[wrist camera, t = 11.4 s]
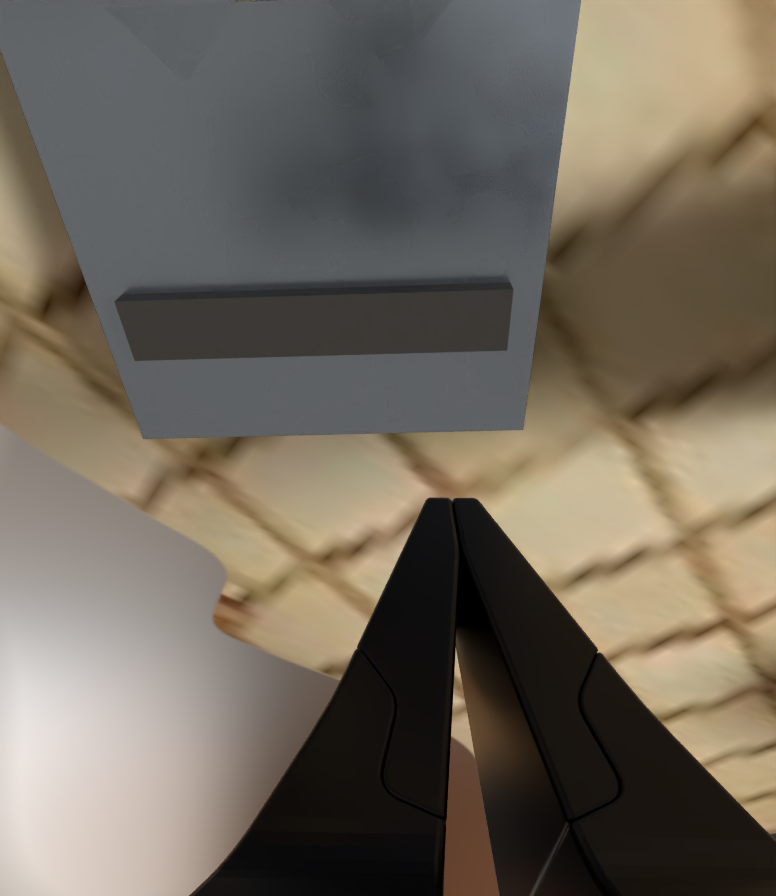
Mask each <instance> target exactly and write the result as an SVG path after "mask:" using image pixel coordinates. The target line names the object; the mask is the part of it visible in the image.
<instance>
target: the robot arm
mask: <svg viewBox="0 0 776 896" xmlns="http://www.w3.org/2000/svg"><path fill="white" fill-rule="evenodd" d="M455 648H456V651H457V656H458V662H459V668H460V673H461V679H462V685H463V690H464V696H465V702H466V707H467V713H468V719H469V724H470V730H471V736H472V742H473V747H474V753H475V759H476V764H477V770H478V776H479V781H480V787H481V793H482V798H483V804H484V810H485V815H486V821H487V827H488V832H489V838H490V844H491V849H492V855H493V861H494V866H495V872H496V878H497V884H498V889H499V895H500V896H776V840H775V839H774V838H773V837H772V836H771V835H770V834H769V833H768V832H767V831H766V830H765V829H764V828H763V827H762V826H761V825H760V824H759V823H758V822H757V821H756V820H755V819H754V818H753V817H752V816H751V815H750V814H749V813H748V812H747V811H746V810H745V809H744V808H743V807H742V806H741V805H740V804H739V803H738V802H737V801H736V800H735V799H734V798H733V797H732V795H731V794H730V793H729V792H728V791H727V790H726V789H725V788H724V787H723V786H722V785H721V784H720V783H719V782H718V781H717V780H716V779H715V778H714V777H713V776H712V775H711V774H710V773H709V772H708V771H707V770H706V769H705V768H704V767H703V766H702V765H701V764H700V763H699V762H698V761H697V760H696V759H695V757H694V756H693V755H692V754H691V753H690V752H689V751H688V750H687V749H686V748H685V747H684V746H683V745H682V744H681V743H680V742H679V741H678V740H677V739H676V738H675V737H674V736H673V735H672V734H671V733H670V732H669V730H668V729H667V728H666V727H665V726H664V725H663V724H662V723H661V722H660V721H659V720H658V719H657V718H656V716H655V715H654V714H653V713H652V712H651V711H650V710H649V709H648V708H647V707H646V706H645V705H644V704H643V702H642V701H641V700H640V699H639V698H638V696H637V695H636V694H635V693H634V692H633V691H632V689H631V688H630V687H629V686H628V685H627V684H626V682H625V681H624V680H623V679H622V678H621V676H620V675H619V674H618V673H617V672H616V670H615V669H614V668H613V667H612V665H611V664H610V663H609V662H608V660H607V659H606V658H605V657H604V655H603V654H602V653H597V652H598V649H597V647H596V646H595V644H594V643H593V642H592V641H591V640H590V638H589V637H588V636H587V635H586V633H585V632H584V631H583V630H582V628H581V627H580V626H579V625H578V623H577V622H576V621H575V620H574V618H573V617H572V616H571V615H570V613H569V612H568V611H567V610H566V608H565V607H564V606H563V605H562V603H561V602H560V601H559V600H558V599H557V597H556V596H555V595H554V594H553V592H552V591H551V590H550V589H549V587H548V586H547V585H546V584H545V582H544V581H543V580H542V579H541V577H540V576H539V575H538V574H537V572H536V571H535V570H534V569H533V567H532V566H531V565H530V564H529V563H528V561H527V560H526V559H525V558H524V556H523V555H522V554H521V553H520V551H519V550H518V549H517V548H516V546H515V545H514V544H513V543H512V541H511V540H510V539H509V538H508V536H507V535H506V534H505V533H504V531H503V530H502V529H501V528H500V526H499V525H498V524H497V523H496V522H495V520H494V519H493V518H492V517H491V515H490V514H489V513H488V512H487V510H486V509H485V508H484V507H483V505H482V504H481V503H480V502H479V501H478V500H477V499H475V498H455V499H453V501H451V499H449V498H428V499H427V500H426V501H425V503H424V505H423V507H422V510H421V512H420V514H419V516H418V518H417V520H416V522H415V524H414V527H413V529H412V531H411V533H410V535H409V537H408V539H407V541H406V544H405V546H404V548H403V550H402V552H401V554H400V556H399V558H398V561H397V563H396V565H395V567H394V569H393V571H392V573H391V575H390V578H389V580H388V582H387V584H386V586H385V588H384V590H383V592H382V595H381V597H380V599H379V601H378V603H377V605H376V607H375V609H374V612H373V614H372V616H371V618H370V620H369V622H368V624H367V626H366V629H365V631H364V633H363V635H362V637H361V639H360V641H359V643H358V646H357V649H356V650H355V651H354V653H353V655H352V658H351V660H350V662H349V664H348V666H347V668H346V670H345V672H344V674H343V676H342V678H341V680H340V682H339V684H338V686H337V688H336V690H335V692H334V694H333V696H332V697H331V699H330V701H329V703H328V705H327V706H326V708H325V710H324V711H323V713H322V715H321V716H320V718H319V720H318V721H317V723H316V725H315V726H314V728H313V730H312V731H311V733H310V735H309V736H308V738H307V739H306V741H305V742H304V744H303V745H302V747H301V748H300V750H299V752H298V753H297V755H296V756H295V758H294V759H293V761H292V763H291V764H290V766H289V767H288V769H287V770H286V772H285V773H284V775H283V776H282V778H281V780H280V781H279V783H278V784H277V786H276V787H275V789H274V790H273V792H272V794H271V795H270V797H269V798H268V800H267V801H266V803H265V804H264V806H263V807H262V809H261V810H260V812H259V814H258V815H257V817H256V818H255V820H254V821H253V823H252V824H251V825H250V827H249V828H248V830H247V831H246V833H245V834H244V835H243V837H242V838H241V840H240V841H239V842H238V844H237V845H236V846H235V848H234V849H233V850H232V851H231V853H230V854H229V855H228V856H227V858H226V859H225V860H224V861H223V862H222V863H221V864H220V866H219V867H218V868H217V869H216V870H215V871H214V872H213V873H212V874H211V875H210V876H209V877H208V878H207V879H206V880H205V881H204V882H203V883H202V884H201V885H200V886H199V887H198V888H197V889H196V890H195V891H194V892H193V893H192V894H190V895H189V896H443V894H444V893H443V892H444V861H445V838H446V837H445V836H446V818H447V800H448V781H449V762H450V742H451V724H452V705H453V686H454V667H455Z"/></svg>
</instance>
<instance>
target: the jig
mask: <svg viewBox="0 0 776 896" xmlns="http://www.w3.org/2000/svg"><path fill="white" fill-rule="evenodd" d="M580 4H581V0H269V1H251V0H0V50H1V53H2V56H3V59H4V61H5V64H6V67H7V70H8V72H9V75H10V78H11V80H12V83H13V86H14V89H15V91H16V94H17V97H18V99H19V102H20V105H21V108H22V110H23V113H24V116H25V119H26V121H27V124H28V127H29V129H30V132H31V135H32V138H33V140H34V143H35V146H36V148H37V151H38V154H39V157H40V159H41V162H42V165H43V167H44V170H45V173H46V176H47V178H48V181H49V184H50V187H51V189H52V192H53V195H54V197H55V200H56V203H57V206H58V208H59V211H60V214H61V216H62V219H63V222H64V225H65V227H66V230H67V233H68V236H69V238H70V241H71V244H72V246H73V249H74V252H75V255H76V257H77V260H78V263H79V265H80V268H81V271H82V274H83V276H84V279H85V282H86V285H87V287H88V290H89V293H90V295H91V298H92V301H93V304H94V306H95V309H96V312H97V314H98V317H99V320H100V323H101V325H102V328H103V331H104V333H105V336H106V339H107V342H108V344H109V347H110V350H111V353H112V355H113V358H114V361H115V363H116V366H117V369H118V372H119V374H120V377H121V380H122V382H123V385H124V388H125V391H126V393H127V396H128V399H129V402H130V404H131V407H132V410H133V412H134V415H135V418H136V421H137V423H138V426H139V429H140V431H141V434H142V437H143V439H160V438H202V437H244V436H286V435H328V434H370V433H412V432H454V431H496V430H523V427H524V419H525V412H526V405H527V397H528V390H529V382H530V375H531V367H532V360H533V353H534V345H535V338H536V330H537V323H538V316H539V308H540V301H541V293H542V286H543V278H544V271H545V264H546V256H547V249H548V241H549V234H550V227H551V219H552V212H553V204H554V197H555V189H556V182H557V175H558V167H559V160H560V152H561V145H562V138H563V130H564V123H565V115H566V108H567V101H568V93H569V86H570V78H571V71H572V63H573V56H574V49H575V41H576V34H577V26H578V19H579V12H580Z"/></svg>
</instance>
